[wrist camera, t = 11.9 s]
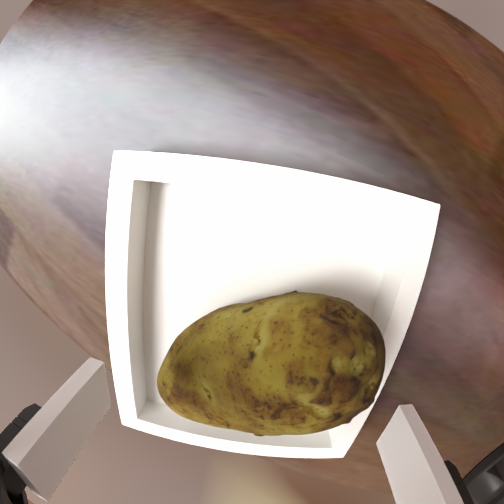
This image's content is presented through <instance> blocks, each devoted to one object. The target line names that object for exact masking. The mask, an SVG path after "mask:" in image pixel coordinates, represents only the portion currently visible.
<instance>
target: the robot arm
mask: <svg viewBox="0 0 504 504" xmlns="http://www.w3.org/2000/svg"><path fill="white" fill-rule="evenodd" d="M110 407H111V401H110V397H109V390H108V385H107V379H106V372H105V366H104V362H102V361H99V360H96V359H94V358H91V357H90V358H89V359H88V360H87V361H86V362H85V363H84V364H83V365H82V366H81V367H80V368H79V369H78V370H77V371H76V372H75V373H74V374H73V375H72V376H71V377H70V378H69V379H68V380H67V381H66V382H65V383H64V384H63V385H62V386H61V388H60V389H59V390H58V391H57V392H56V393H55V394H54V395H53V396H52V397H51V398H50V399H49V400H48V401H47V402H46V404H45V405H44V406H43V407H40V406H38V405H37V404H32V405H30V406H28V407H26V408H25V409H23V410H22V412H21V413H20V414H19V415H18V417H16V418H15V419H14V420H13V421H12V423H10V424H9V425H8V426H7V427H6V428H5V429H4V431H3V432H2V433H1V434H0V504H28V500H27V495H26V492H25V490H24V489H25V487H26V486H28V487H29V488H30V490H31V491H32V492H33V493H35V494H36V495H38V496H39V497H41V498H42V499H44V500H46V501H47V502H48V501H49V500H50V498H51V497H52V495H53V493H54V492H55V490H56V488H57V487H58V485H59V484H60V482H61V481H62V479H63V477H64V476H65V474H66V473H67V471H68V470H69V468H70V467H71V465H72V464H73V462H74V461H75V459H76V457H77V456H78V454H79V453H80V451H81V450H82V448H83V447H84V445H85V444H86V442H87V440H88V439H89V438H90V436H91V434H92V433H93V432H94V430H95V429H96V427H97V426H98V424H99V423H100V421H101V420H102V418H103V417H104V416H105V414H106V413H107V411H108V410H109V408H110ZM376 445H377V447H378V450H379V453H380V456H381V459H382V462H383V465H384V468H385V471H386V474H387V477H388V480H389V483H390V486H391V489H392V492H393V495H394V499H395V502H396V504H504V444H503V445H501V446H500V447H499V448H497V449H496V450H495V451H494V452H492V453H491V454H490V455H489V456H488V457H486V458H485V459H484V460H483V461H482V462H481V463H479V464H478V465H477V466H476V467H475V468H474V469H473V470H472V471H471V472H470V473H469V474H468V475H467V476H466V477H465V478H464V479H462V478H461V477H460V474H459V472H458V470H457V468H456V466H454V465H453V464H452V463H451V462H450V461H449V460H447V461H443V460H442V458H441V456H440V454H439V452H438V450H437V448H436V446H435V444H434V442H433V441H432V439H431V437H430V435H429V433H428V431H427V430H426V428H425V426H424V424H423V422H422V421H421V419H420V417H419V415H418V413H417V412H416V410H415V408H414V406H413V405H412V404H408V405H399V406H398V408H397V410H396V411H395V413H394V415H393V417H392V418H391V420H390V422H389V423H388V425H387V427H386V428H385V430H384V432H383V433H382V435H381V436H380V438H379V439H378V441H377V442H376Z"/></svg>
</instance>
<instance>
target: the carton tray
mask: <svg viewBox="0 0 504 504" xmlns="http://www.w3.org/2000/svg"><path fill="white" fill-rule="evenodd" d="M439 210H440V204H437V203H433V202H430V201H427V200H424V199H420V198H417V197H413V196H410V195H406V194H403V193H399V192H395V191H392V190H388V189H384V188H380V187H376V186H372V185H368V184H364V183H360V182H356V181H351V180H347V179H342V178H338V177H333V176H328V175H323V174H318V173H313V172H308V171H303V170H297V169H292V168H286V167H280V166H274V165H268V164H261V163H255V162H248V161H240V160H233V159H225V158H216V157H207V156H197V155H186V154H174V153H161V152H144V151H119V150H114V153H113V159H112V167H111V175H110V184H109V194H108V206H107V220H106V243H105V289H106V312H107V326H108V338H109V348H110V356H111V364H112V372H113V379H114V385H115V390H116V397H117V402H118V407H119V412H120V417H121V422H122V425H125V426H128V427H131V428H134V429H137V430H140V431H144V432H146V433H150V434H153V435H157V436H160V437H164V438H168V439H171V440H175V441H179V442H183V443H188V444H192V445H197V446H202V447H207V448H213V449H218V450H224V451H230V452H238V453H246V454H253V455H262V456H274V457H290V458H343V457H344V455H345V454H346V452H347V451H348V449H349V448H350V446H351V444H352V443H353V441H354V439H355V438H356V436H357V434H358V433H359V431H360V429H361V428H362V426H363V424H364V422H365V420H366V419H367V417H368V415H369V413H370V411H371V409H372V408H373V406H374V404H375V402H376V400H377V398H378V396H379V394H380V392H381V390H382V388H383V386H384V384H385V381H386V379H387V377H388V375H389V373H390V371H391V368H392V366H393V364H394V361H395V359H396V357H397V354H398V352H399V350H400V347H401V345H402V342H403V340H404V337H405V334H406V332H407V329H408V326H409V324H410V321H411V318H412V315H413V312H414V309H415V306H416V303H417V300H418V297H419V294H420V290H421V287H422V284H423V280H424V277H425V273H426V269H427V265H428V262H429V258H430V254H431V249H432V245H433V241H434V236H435V231H436V226H437V221H438V216H439ZM295 290H296V291H297V292H307V293H318V294H324V295H329V296H332V297H339V298H341V299H344V300H347V301H350V302H351V303H353V304H354V306H356V307H357V308H359V309H360V310H361V311H363V312H364V313H365V314H367V315H368V316H369V317H370V318H371V319H372V320H373V321H374V322H375V323H376V325H377V326H378V328H379V329H380V331H381V334H382V336H383V339H384V343H385V349H386V359H385V370H384V374H383V379H382V382H381V384H380V387H379V390H378V392H377V394H376V396H375V400H374V402H373V403H372V405H371V406H370V407H369V408H368V409H366V410H365V411H362V412H361V413H359V414H358V415H357V416H355V417H354V418H353V419H352V420H351V422H350V423H348V424H342V425H340V426H337V427H335V428H332V429H329V430H325V431H321V432H318V433H312V434H305V435H279V436H267V435H264V436H255V435H254V434H253V433H246V432H242V431H237V430H231V429H224V428H218V427H213V426H209V425H205V424H202V423H198V422H195V421H192V420H189V419H186V418H184V417H182V416H180V415H178V414H176V413H175V412H174V411H172V410H171V409H170V408H169V407H168V406H167V405H166V404H165V402H164V401H163V399H162V398H161V396H160V394H159V392H158V388H157V376H158V372H159V369H160V367H161V364H162V362H163V360H164V358H165V356H166V354H167V352H168V350H169V349H170V347H171V345H172V343H173V342H174V340H175V339H176V337H177V336H178V335H179V334H180V333H181V332H182V331H183V330H184V329H186V328H187V327H188V326H189V325H191V324H192V323H193V322H195V321H197V320H198V319H200V318H201V317H203V316H205V315H207V314H209V313H210V312H212V311H214V310H216V309H218V308H221V307H224V306H228V305H232V304H238V303H249V302H252V301H255V300H258V299H262V298H266V297H271V296H276V295H282V294H284V293H288V292H292V291H295Z"/></svg>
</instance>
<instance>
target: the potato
mask: <svg viewBox="0 0 504 504" xmlns="http://www.w3.org/2000/svg"><path fill="white" fill-rule="evenodd" d="M385 359H386V349H385V343H384V339H383V336H382V334H381V331H380V329H379V328H378V326H377V325H376V323H375V322H374V321H373V320H372V319H371V318H370V317H369V316H368V315H367V314H365V313H364V312H363V311H361V310H360V309H359V308H357V307H356V306H354V304H353V303H351V302H350V301H347V300H344V299H341V298H339V297H332V296H329V295H324V294H318V293H307V292H297V291H296V290H295V291H292V292H288V293H284V294H282V295H276V296H271V297H266V298H262V299H258V300H255V301H252V302H249V303H238V304H232V305H228V306H224V307H221V308H218V309H216V310H214V311H212V312H210V313H209V314H207V315H205V316H203V317H201V318H200V319H198V320H197V321H195V322H193V323H192V324H191V325H189V326H188V327H187V328H186V329H184V330H183V331H182V332H181V333H180V334H179V335H178V336H177V337H176V339H175V340H174V342H173V343H172V345H171V347H170V349H169V350H168V352H167V354H166V356H165V358H164V360H163V362H162V364H161V367H160V369H159V372H158V376H157V388H158V392H159V394H160V396H161V398H162V399H163V401H164V402H165V404H166V405H167V406H168V407H169V408H170V409H171V410H172V411H174V412H175V413H176V414H178V415H180V416H182V417H184V418H186V419H189V420H192V421H195V422H198V423H202V424H205V425H209V426H213V427H218V428H224V429H231V430H237V431H242V432H246V433H253V434H254V435H255V436H264V435H267V436H279V435H305V434H312V433H318V432H321V431H325V430H329V429H332V428H335V427H337V426H340V425H342V424H348V423H350V422H351V420H352V419H353V418H354V417H355V416H357V415H358V414H359V413H361V412H362V411H365V410H366V409H368V408H369V407H370V406H371V405H372V403H373V402H374V400H375V396H376V394H377V392H378V390H379V387H380V384H381V382H382V379H383V374H384V370H385Z"/></svg>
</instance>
